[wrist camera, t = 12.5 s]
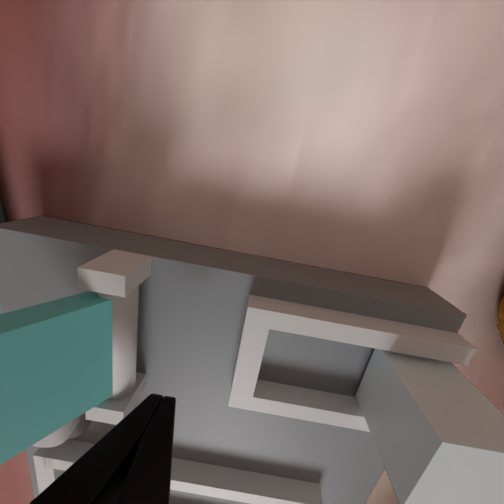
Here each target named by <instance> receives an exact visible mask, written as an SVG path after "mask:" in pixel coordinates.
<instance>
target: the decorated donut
mask: <svg viewBox="0 0 504 504" xmlns="http://www.w3.org/2000/svg"><path fill="white" fill-rule="evenodd" d="M498 320H499V323H498V324H497V326H498V329H499V330H500V332H501V337H502V339H503V343H504V295H503V299H502V301H501V302H500V305H499V312H498Z"/></svg>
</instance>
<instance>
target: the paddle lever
mask: <svg viewBox="0 0 504 504" xmlns="http://www.w3.org/2000/svg"><path fill="white" fill-rule="evenodd" d="M138 300H139V286H137V287H136V288H135V289H134V290H133V291H132V292H131V293H129V294H128V295H127V296H126V297H120V296H115V295H109V294H104V293H98V292H93V291H87V292H83V293H80V294H76V295H72V296H68V297H64V298H61V299H57V300H53V301H49V302H45V303H41V304H38V305H34V306H30V307H26V308H22V309H18V310H15V311H11V312H7V313H3V314H0V465H1V464H3V463H5V462H6V461H8V460H10V459H11V458H13V457H14V456H16V455H18V454H19V453H21V452H22V451H24V450H26V449H27V448H29V447H30V446H32V445H34V444H35V443H37V442H39V441H40V440H42V439H43V438H45V437H47V436H48V435H50V434H51V433H53V432H55V431H56V430H58V429H60V428H61V427H63V426H64V425H66V424H68V423H69V422H71V421H72V420H74V419H76V418H77V417H79V416H80V415H82V414H84V413H85V412H87V411H89V410H90V409H92V408H93V407H95V406H97V405H98V404H100V403H101V402H103V401H105V400H106V399H117V398H121V397H123V396H125V395H127V394H128V393H130V392H131V391H132V390H133V388H134V386H135V384H136V360H137V330H138Z"/></svg>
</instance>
